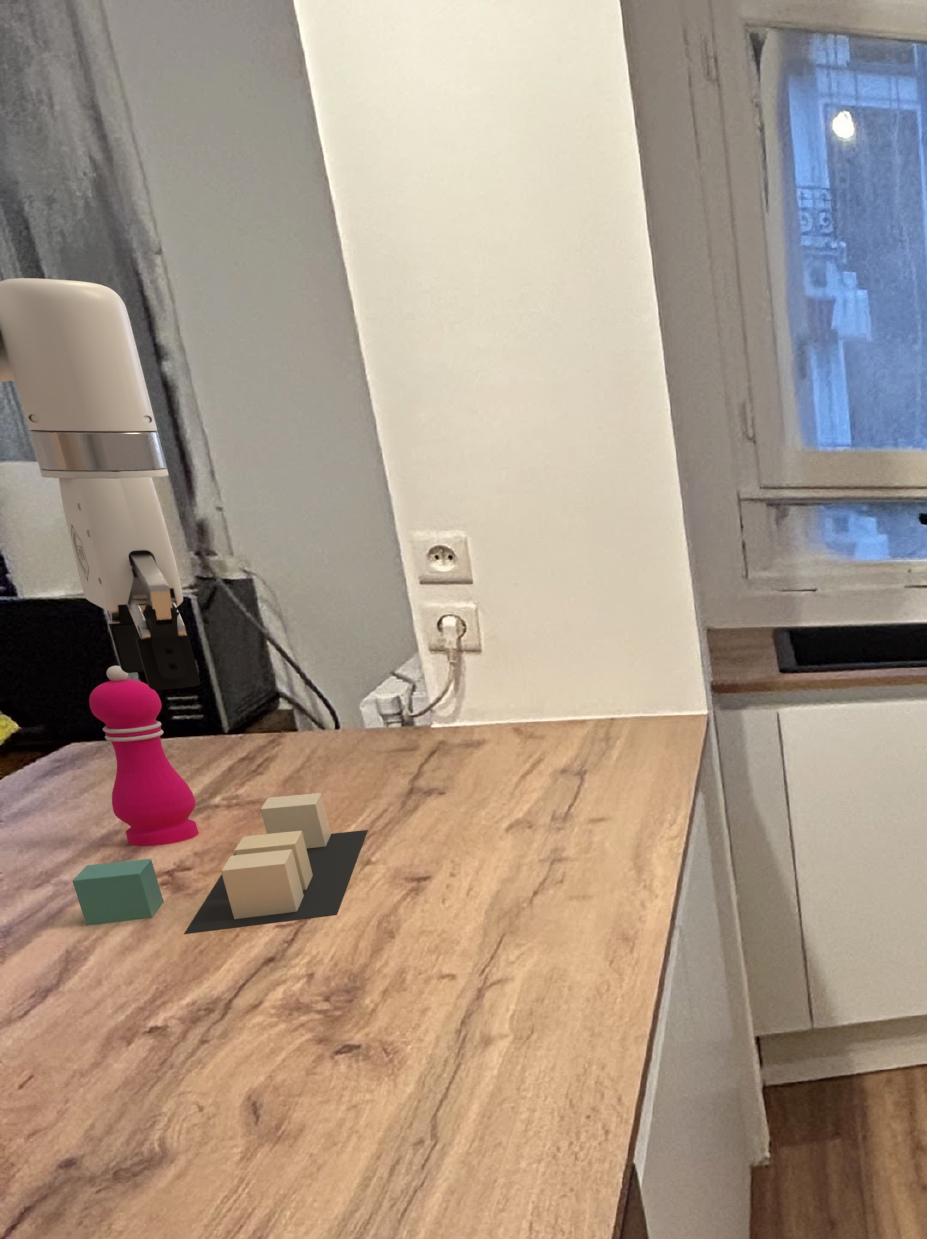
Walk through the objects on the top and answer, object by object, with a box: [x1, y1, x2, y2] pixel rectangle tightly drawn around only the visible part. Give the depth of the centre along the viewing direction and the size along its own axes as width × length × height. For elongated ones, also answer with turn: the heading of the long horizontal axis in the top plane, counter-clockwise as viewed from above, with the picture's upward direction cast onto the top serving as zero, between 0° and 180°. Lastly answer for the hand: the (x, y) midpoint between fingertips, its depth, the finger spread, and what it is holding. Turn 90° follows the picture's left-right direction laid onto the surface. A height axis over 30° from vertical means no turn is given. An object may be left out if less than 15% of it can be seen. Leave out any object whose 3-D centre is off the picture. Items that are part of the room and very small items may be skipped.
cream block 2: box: [233, 831, 313, 890], centre depth 138 cm, size 5×5×5 cm
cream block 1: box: [260, 792, 332, 849], centre depth 152 cm, size 5×5×5 cm
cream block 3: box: [220, 849, 304, 919], centre depth 133 cm, size 5×5×5 cm
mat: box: [183, 829, 369, 935], centre depth 142 cm, size 12×31×1 cm, turn 28°
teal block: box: [72, 858, 165, 926], centre depth 131 cm, size 5×5×5 cm
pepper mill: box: [88, 665, 199, 847], centre depth 150 cm, size 7×7×20 cm
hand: (161, 678), depth 109 cm, fingers open, 9 cm apart
